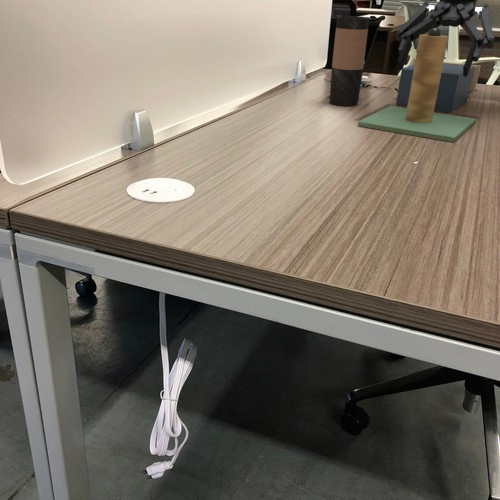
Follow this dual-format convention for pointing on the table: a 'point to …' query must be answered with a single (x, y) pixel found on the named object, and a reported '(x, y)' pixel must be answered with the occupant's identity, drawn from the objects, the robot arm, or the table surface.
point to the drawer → (474, 77)
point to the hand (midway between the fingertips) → (431, 68)
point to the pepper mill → (426, 76)
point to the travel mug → (348, 59)
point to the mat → (419, 124)
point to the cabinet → (440, 87)
